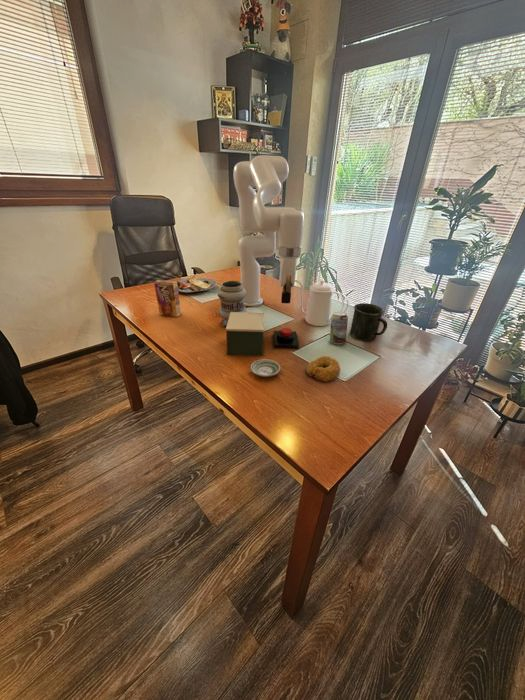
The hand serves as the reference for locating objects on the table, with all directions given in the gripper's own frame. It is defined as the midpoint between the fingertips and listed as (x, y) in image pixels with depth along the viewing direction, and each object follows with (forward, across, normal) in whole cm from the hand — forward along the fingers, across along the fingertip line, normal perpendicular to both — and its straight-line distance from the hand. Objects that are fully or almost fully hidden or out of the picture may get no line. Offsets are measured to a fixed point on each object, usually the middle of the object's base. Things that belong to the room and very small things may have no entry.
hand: (285, 302), depth 107 cm
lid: (+5, +7, -14) cm, 17 cm away
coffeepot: (+16, -17, +16) cm, 28 cm away
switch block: (+15, +2, +1) cm, 16 cm away
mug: (+15, -3, +34) cm, 37 cm away
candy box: (+16, -20, -50) cm, 57 cm away
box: (+15, +6, -14) cm, 22 cm away
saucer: (+15, +24, -7) cm, 29 cm away
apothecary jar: (+16, -12, -21) cm, 29 cm away
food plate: (+17, -57, -48) cm, 76 cm away
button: (+12, +2, +1) cm, 12 cm away
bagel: (+15, +24, +12) cm, 30 cm away
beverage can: (+15, +2, +21) cm, 26 cm away
